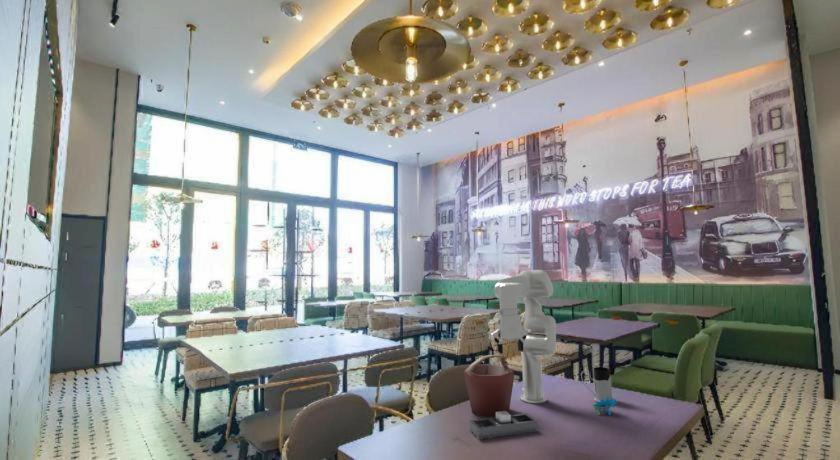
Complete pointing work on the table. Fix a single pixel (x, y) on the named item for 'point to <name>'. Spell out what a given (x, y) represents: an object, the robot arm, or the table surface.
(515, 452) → the table surface
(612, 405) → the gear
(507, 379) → the bucket
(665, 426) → the table surface
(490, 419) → the grey compartment tray
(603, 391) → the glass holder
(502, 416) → the white slotted box
